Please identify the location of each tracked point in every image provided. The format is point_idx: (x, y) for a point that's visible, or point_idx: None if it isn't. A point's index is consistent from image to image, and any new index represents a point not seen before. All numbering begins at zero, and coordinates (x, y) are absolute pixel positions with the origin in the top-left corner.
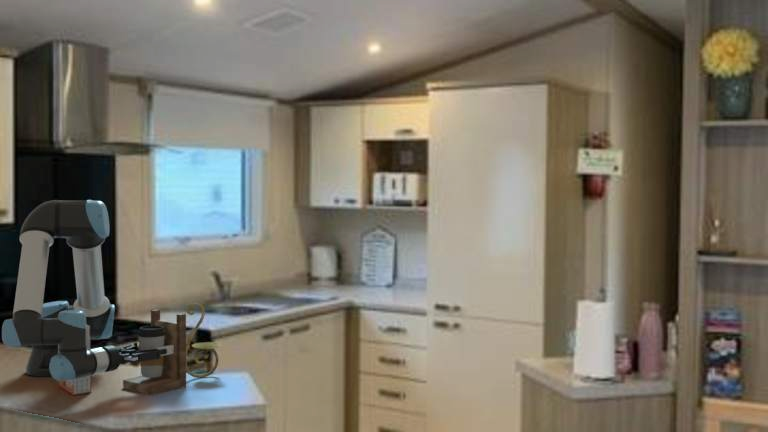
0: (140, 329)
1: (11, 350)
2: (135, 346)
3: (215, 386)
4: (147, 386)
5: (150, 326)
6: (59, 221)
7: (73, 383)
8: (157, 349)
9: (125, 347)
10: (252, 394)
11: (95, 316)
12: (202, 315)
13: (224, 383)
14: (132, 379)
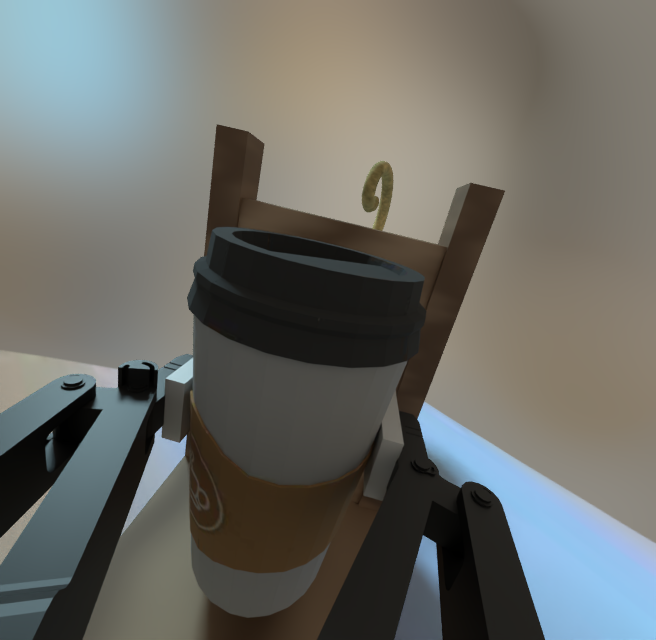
0: (262, 260)
1: None
2: (149, 410)
3: (445, 477)
4: None
5: (265, 236)
6: None
7: None
8: (435, 469)
9: (21, 450)
10: (617, 523)
11: None
12: (382, 222)
13: (430, 443)
14: (109, 611)
